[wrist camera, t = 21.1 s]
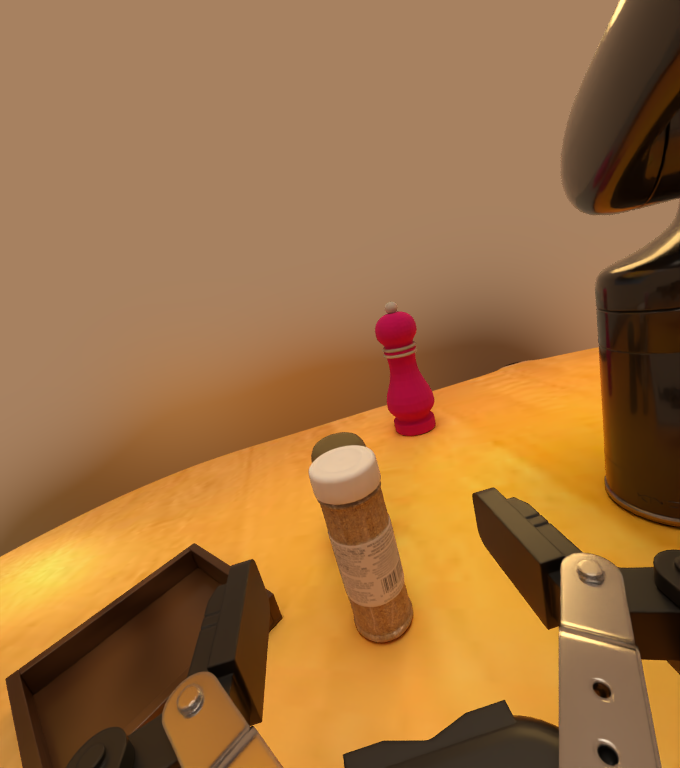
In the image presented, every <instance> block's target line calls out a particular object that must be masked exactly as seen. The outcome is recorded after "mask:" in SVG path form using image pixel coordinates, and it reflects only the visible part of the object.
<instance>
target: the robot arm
mask: <svg viewBox="0 0 680 768" xmlns="http://www.w3.org/2000/svg"><path fill="white" fill-rule="evenodd" d="M561 179H562V185H563V188H564V191H565V194H566V196H567V198H568V200H569V201H570V202H571V204H572V205H573V206H574V207H575V208H577V209H578V210H579V211H581V212H583V213H586V214H590V215H613V214H619V213H624V212H628V211H630V210H635V209H640V208H644V207H648V206H652V205H655V204H660V203H664V202H668V201H671V200H675V199H679V198H680V0H619V1H618V4H617V6H616V8H615V10H614V13H613V15H612V17H611V19H610V22H609V24H608V26H607V28H606V30H605V33H604V35H603V37H602V39H601V41H600V44H599V46H598V48H597V50H596V52H595V54H594V56H593V59H592V61H591V63H590V65H589V67H588V70H587V72H586V74H585V77H584V79H583V81H582V83H581V86H580V88H579V91H578V93H577V95H576V98H575V100H574V103H573V106H572V109H571V112H570V115H569V118H568V122H567V126H566V130H565V135H564V139H563V145H562V153H561ZM595 296H596V307H597V309H596V310H597V327H598V343H599V359H600V377H601V395H602V413H603V432H604V453H605V470H606V475H605V488H606V491H607V493H608V495H609V496H610V497H611V498H612V500H614V501H615V502H616V503H617V504H618V505H620V506H621V507H623V508H624V509H626V510H628V511H630V512H632V513H634V514H636V515H638V516H641V517H643V518H646V519H649V520H652V521H655V522H659V523H662V524H667V525H671V526H677V527H680V200H679V206H678V211H677V214H676V217H675V219H674V220H673V222H672V223H671V224H670V226H669V227H668V228H667V229H666V230H665V231H663V233H662V234H661V235H659V236H658V237H657V238H655V239H654V240H653V241H652V242H650V243H649V244H647V245H646V246H644V247H643V248H641V249H639V250H638V251H636V252H634V253H633V254H631V255H629V256H627V257H625V258H623V259H621V260H619V261H617V262H615V263H614V264H612V265H610V266H608V267H607V268H605V269H604V270H603V271H601V272H600V274H599V275H598V277H597V279H596V283H595ZM472 497H473V504H474V510H475V516H476V522H477V527H478V532H479V535H480V537H481V540H482V542H483V544H484V545H485V547H486V548H487V550H488V551H489V552H490V554H491V555H492V556H493V558H494V559H495V560H496V562H497V563H498V564H499V566H500V567H501V568H502V570H503V571H504V572H505V574H506V575H507V576H508V578H509V579H510V580H511V581H512V583H513V584H514V585H515V587H516V588H517V589H518V591H519V592H520V593H521V595H522V596H523V597H524V599H525V600H526V601H527V603H528V604H529V605H530V607H531V608H532V609H533V611H534V612H535V613H536V615H537V616H538V617H539V619H540V620H541V621H542V623H543V624H544V625H545V626H546V628H547V629H548V630H549V629H552V628H555V627H558V626H559V727H557V726H555V725H553V724H550V723H548V722H545V721H543V720H539V719H536V718H532V717H526V716H515V715H512V713H511V711H510V709H509V707H508V705H507V703H506V701H505V700H503V701H500V702H497V703H494V704H491V705H488V706H485V707H482V708H479V709H476V710H473V711H470V712H467V713H465V714H464V715H462V716H461V717H460V718H459V719H457V720H456V721H455V722H453V723H452V724H451V725H449V726H448V727H447V728H445V729H444V730H443V731H441V732H440V733H439V734H437V735H436V736H435V737H433V738H432V739H430V740H425V741H381V742H378V743H375V744H372V745H369V746H367V747H364V748H361V749H358V750H355V751H352V752H349V753H346V754H343V758H344V767H345V768H662V767H661V762H660V757H659V751H658V746H657V741H656V736H655V730H654V725H653V720H652V714H651V709H650V704H649V699H648V693H647V688H646V683H645V677H644V672H643V667H642V662H641V659H646V660H667V661H668V663H669V664H670V665H671V666H672V667H673V668H674V669H675V670H676V671H677V672H678V673H679V674H680V550H666V551H662V552H660V553H658V554H657V555H656V556H655V557H654V562H653V565H654V567H644V568H619V567H616V566H615V565H614V564H613V563H611V562H610V561H608V560H607V559H605V558H602V557H600V556H597V555H594V554H589V553H583V552H582V551H581V550H579V549H578V548H577V547H576V546H575V545H574V544H573V543H572V542H571V541H569V540H568V539H567V538H566V537H565V536H564V535H563V534H562V533H560V532H559V531H558V530H557V529H556V528H555V527H554V526H553V525H552V524H550V523H548V521H547V520H546V519H545V518H544V517H543V516H542V515H539V513H538V512H537V511H536V510H535V509H534V508H533V507H532V506H530V505H529V504H528V503H526V502H523V501H521V500H519V499H517V498H515V497H512V498H509V499H506V498H505V497H504V496H503V495H502V494H501V493H500V492H499V491H498V490H497V489H495V488H489V489H486V490H483V491H479V492H476V493H473V496H472ZM269 620H270V605H269V599H268V595H267V592H266V589H265V586H264V584H263V581H262V578H261V576H260V573H259V571H258V568H257V565H256V563H255V561H254V560H253V559H251V560H248V561H245V562H241V563H238V564H235V565H232V566H231V567H230V569H229V574H228V578H227V582H226V584H223V585H220V586H218V587H217V588H216V590H215V591H214V593H213V594H212V596H211V597H210V599H209V600H208V603H207V607H206V611H205V614H204V618H203V621H202V625H201V631H200V632H199V636H198V639H197V643H196V647H195V650H194V654H193V657H192V661H191V665H190V668H189V672H188V675H187V678H186V679H185V680H184V681H183V682H181V683H180V684H179V685H178V686H177V687H176V688H175V690H174V691H173V692H172V694H171V695H170V696H169V698H168V700H167V702H166V704H165V706H164V709H163V712H162V713H161V714H160V715H159V716H157V717H156V718H154V719H153V720H151V721H150V722H148V723H147V724H145V725H144V726H142V727H141V728H139V729H137V730H136V731H134V732H133V733H131V734H130V735H128V736H127V735H126V733H125V731H124V730H123V729H122V728H120V727H109V728H106V729H104V730H102V731H100V732H98V733H97V734H95V735H94V736H93V737H91V738H90V739H89V740H88V741H87V742H85V743H84V744H83V745H82V746H81V747H80V748H79V750H78V751H77V752H76V753H75V754H74V756H73V757H72V758H71V760H70V761H69V763H68V765H67V766H66V768H283V767H282V765H281V764H280V763H279V761H278V760H277V758H276V757H275V755H274V754H273V753H272V751H271V750H270V748H269V747H268V745H267V744H266V743H265V741H264V740H263V738H262V737H261V735H260V734H259V733H258V731H257V730H256V729H255V727H254V726H251V725H254V724H258V723H261V722H262V716H263V702H264V689H265V675H266V661H267V648H268V634H269ZM250 726H251V727H250Z"/></svg>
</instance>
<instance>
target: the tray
mask: <svg viewBox="0 0 680 768" xmlns="http://www.w3.org/2000/svg"><path fill="white" fill-rule="evenodd" d="M230 567H231V566H229V565H228V564H226V563H225V562H223V561H221V560H220V559H218V558H217V557H215V556H214V555H212V554H211V553H209V552H207V551H206V550H204V549H203V548H201V547H200V546H198V545H197V544H195V543H194V544H192V545H191V546H189V547H188V548H187V549H185V550H184V551H183V552H181V553H180V554H178V555H177V556H176V557H174V558H173V559H171V560H170V561H169V562H167V563H166V564H164V565H163V566H162V567H160V568H159V569H158V570H156V571H155V572H153V573H152V574H151V575H149V576H148V577H146V578H145V579H144V580H142V581H141V582H139V583H138V584H137V585H135V586H134V587H133V588H131V589H130V590H128V591H127V592H126V593H124V594H123V595H121V596H120V597H119V598H117V599H116V600H114V601H113V602H112V603H110V604H109V605H108V606H106V607H105V608H103V609H102V610H101V611H99V612H98V613H96V614H95V615H94V616H92V617H91V618H89V619H88V620H87V621H85V622H84V623H83V624H81V625H80V626H78V627H77V628H76V629H74V630H73V631H71V632H70V633H69V634H67V635H66V636H64V637H63V638H62V639H60V640H59V641H58V642H56V643H55V644H53V645H52V646H51V647H49V648H48V649H46V650H45V651H44V652H42V653H41V654H39V655H38V656H37V657H35V658H34V659H33V660H31V661H30V662H28V663H27V664H26V665H24V666H23V667H21V668H20V669H19V670H17V671H16V672H14V673H13V674H12V675H10V676H9V677H7V678H6V685H7V690H8V695H9V700H10V705H11V710H12V715H13V720H14V725H15V730H16V736H17V741H18V746H19V751H20V756H21V761H22V766H23V768H66V766H67V765H68V763H69V761H70V760H71V758H72V757H73V756H74V754H75V753H76V752H77V751H78V750H79V748H80V747H81V746H82V745H83V744H84V743H85V742H87V741H88V740H89V739H90V738H91V737H93V736H94V735H95V734H97V733H98V732H100V731H102V730H104V729H106V728H109V727H120V728H122V729H123V730H124V731H125V733H126V735H127V736H128V735H130V734H131V733H133V732H134V731H136V730H137V729H139V728H141V727H142V726H144V725H145V724H147V723H148V722H150V721H151V720H153V719H154V718H156V717H157V716H159V715H160V714H161V713H162V712H163V709H164V706H165V704H166V702H167V700H168V698H169V696H170V695H171V694H172V692H173V691H174V690H175V688H176V687H177V686H178V685H179V684H180V683H181V682H183V681H184V680H185V679H186V678H187V675H188V672H189V668H190V665H191V661H192V657H193V654H194V650H195V647H196V643H197V639H198V636H199V632H200V631H201V625H202V621H203V618H204V614H205V611H206V607H207V603H208V600H209V599H210V597H211V596H212V594H213V593H214V591H215V590H216V588H217V587H218V586H220V585H223V584H226V582H227V578H228V574H229V569H230ZM266 592H267V595H268V599H269V605H270V620H269V631H270V630H271V629H272V628H273V627H274V626H275V625H276V624H277V623H278V622H279V621H280V620H281V619H282V615H281V613H280V611H279V608H278V605H277V602H276V600H275V597H274V594H273V593H271V592H270V591H268V590H267V589H266Z"/></svg>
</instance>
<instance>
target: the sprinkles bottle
mask: <svg viewBox="0 0 680 768" xmlns="http://www.w3.org/2000/svg"><path fill="white" fill-rule="evenodd" d="M309 477H310V481H311V485H312V488H313V491H314V494H315V497H316V498H317V500H318V502H319V503H320V505H321V508H322V511H323V515H324V518H325V521H326V524H327V528H328V534H329V538H330V541H331V544H332V547H333V551H334V554H335V557H336V561H337V564H338V567H339V571H340V574H341V577H342V580H343V584H344V587H345V590H346V593H347V595H348V597H349V600H350V603H351V607H352V610H353V614H354V622H355V624H356V628H357V630H358V631H359V632H360V633H361V634H362V635H363V636H364V637H365V638H367V639H369V640H371V641H374V642H386V641H391V640H393V639H396V638H398V637H400V636H401V635H402V634H403V633H404V632H405V631H406V630H407V628H408V627H409V625H410V623H411V620H412V616H413V610H412V603H411V601H410V599H409V597H408V594H407V590H406V586H405V583H404V573H403V569H402V565H401V561H400V557H399V552H398V548H397V544H396V540H395V536H394V532H393V528H392V524H391V520H390V517H389V515H388V513H387V509H386V505H385V502H384V498H383V494H382V490H381V482H380V479H381V475H380V471H379V467H378V464H377V460H376V457H375V454H374V453H373V451H372V450H370V449H369V448H367V447H364V446H359V445H350V446H343V447H339V448H335V449H332V450H330V451H328V452H326V453H324V454H322V455H320V456H319V457H318V458H317V459H316V460H314V461H313V463H312V464H311V466H310V468H309Z"/></svg>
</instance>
